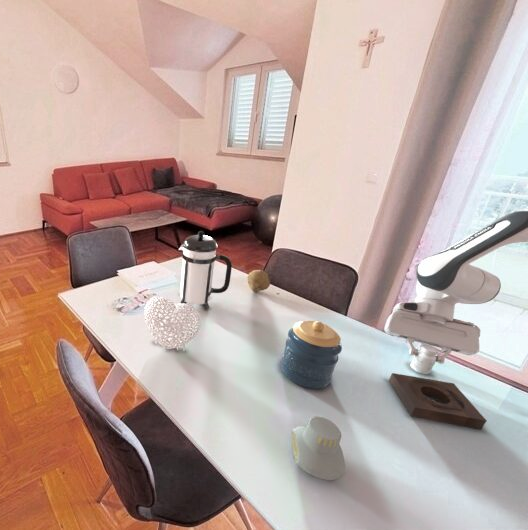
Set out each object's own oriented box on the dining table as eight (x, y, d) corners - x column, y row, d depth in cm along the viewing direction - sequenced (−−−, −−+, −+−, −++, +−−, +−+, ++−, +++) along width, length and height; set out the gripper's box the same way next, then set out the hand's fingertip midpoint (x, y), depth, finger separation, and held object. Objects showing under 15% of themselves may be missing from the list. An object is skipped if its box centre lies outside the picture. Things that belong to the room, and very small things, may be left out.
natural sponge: (264, 287, 138) (269, 266, 134) (270, 297, 130) (275, 276, 126) (243, 286, 139) (247, 265, 135) (247, 296, 131) (251, 274, 127)
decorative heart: (201, 347, 101) (207, 301, 94) (190, 367, 93) (195, 319, 86) (151, 330, 109) (153, 287, 102) (137, 347, 101) (137, 302, 94)
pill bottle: (427, 367, 92) (438, 346, 89) (431, 376, 89) (442, 355, 86) (408, 362, 95) (418, 341, 91) (411, 370, 91) (421, 349, 88)
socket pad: (449, 391, 84) (453, 383, 83) (481, 429, 74) (487, 420, 72) (388, 381, 88) (392, 372, 86) (410, 416, 77) (415, 407, 76)
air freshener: (343, 492, 61) (358, 458, 57) (297, 480, 63) (308, 447, 59) (327, 442, 71) (339, 410, 67) (287, 433, 73) (296, 402, 69)
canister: (304, 354, 98) (318, 305, 91) (341, 383, 87) (360, 331, 79) (270, 363, 94) (281, 313, 87) (304, 395, 83) (320, 341, 76)
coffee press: (193, 316, 118) (201, 241, 105) (168, 297, 130) (172, 228, 118) (227, 304, 125) (238, 233, 113) (200, 288, 138) (207, 222, 126)
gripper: (474, 327, 91) (469, 374, 87) (386, 307, 101) (379, 348, 97) (487, 322, 85) (482, 371, 82) (393, 301, 95) (385, 344, 92)
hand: (425, 358), depth 90 cm, fingers closed on pill bottle, 4 cm apart
